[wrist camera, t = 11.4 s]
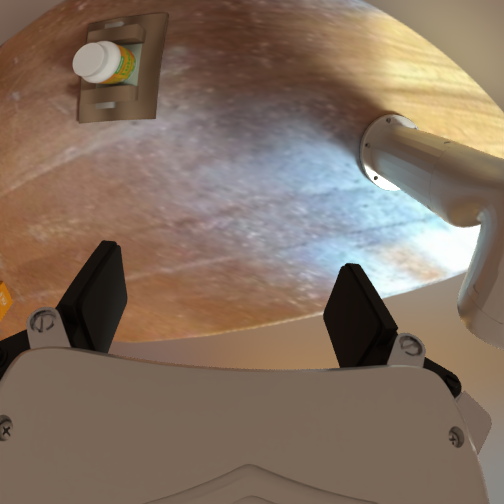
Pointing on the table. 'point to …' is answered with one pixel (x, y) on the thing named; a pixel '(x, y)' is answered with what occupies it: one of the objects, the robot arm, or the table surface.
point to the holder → (143, 79)
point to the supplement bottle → (104, 63)
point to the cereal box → (4, 300)
